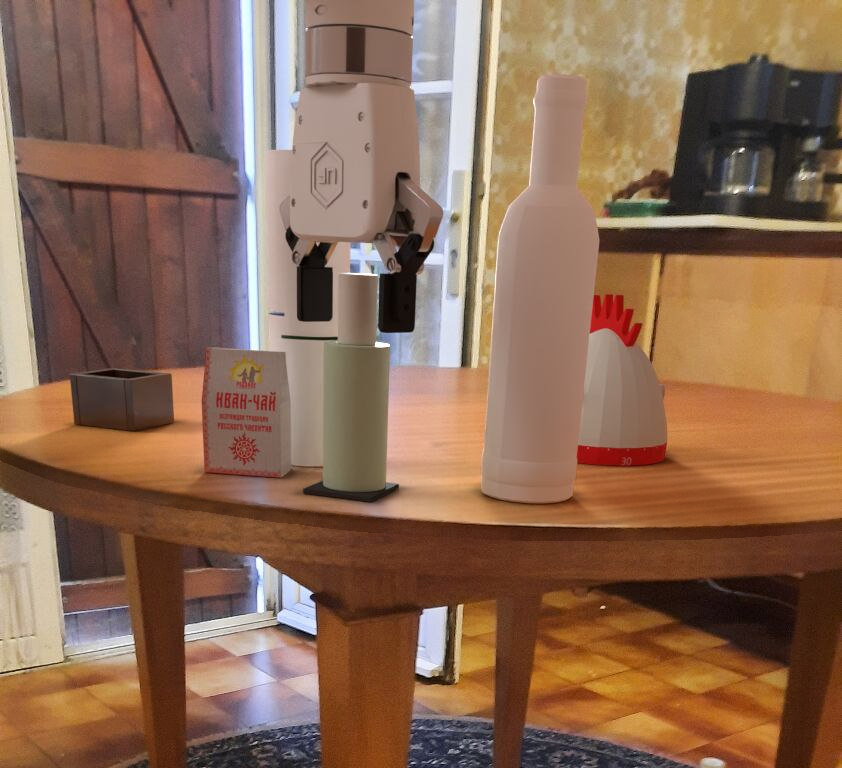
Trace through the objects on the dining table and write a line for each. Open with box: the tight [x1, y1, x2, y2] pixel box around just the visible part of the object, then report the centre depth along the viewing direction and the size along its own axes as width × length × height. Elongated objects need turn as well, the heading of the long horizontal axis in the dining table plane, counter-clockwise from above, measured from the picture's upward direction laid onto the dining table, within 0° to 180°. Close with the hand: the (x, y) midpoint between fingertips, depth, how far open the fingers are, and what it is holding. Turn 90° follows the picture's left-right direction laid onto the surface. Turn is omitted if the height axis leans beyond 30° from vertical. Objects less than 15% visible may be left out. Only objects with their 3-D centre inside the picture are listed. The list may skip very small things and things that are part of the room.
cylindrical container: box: [265, 149, 351, 468], centre depth 94 cm, size 7×7×25 cm
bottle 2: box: [480, 73, 600, 504], centre depth 84 cm, size 8×8×30 cm
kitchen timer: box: [577, 293, 668, 467], centre depth 107 cm, size 14×14×15 cm
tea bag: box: [201, 346, 292, 479], centre depth 91 cm, size 4×7×10 cm, turn 83°
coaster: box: [302, 480, 400, 503], centre depth 88 cm, size 6×6×1 cm
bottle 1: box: [322, 272, 391, 492], centre depth 85 cm, size 5×5×16 cm
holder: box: [69, 367, 175, 432], centre depth 112 cm, size 7×7×5 cm
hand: (354, 326), depth 83 cm, fingers open, 9 cm apart
